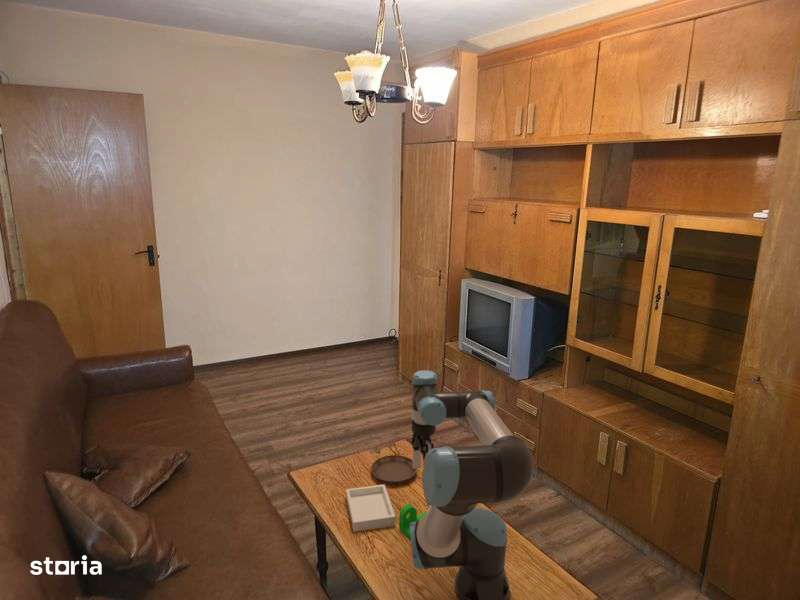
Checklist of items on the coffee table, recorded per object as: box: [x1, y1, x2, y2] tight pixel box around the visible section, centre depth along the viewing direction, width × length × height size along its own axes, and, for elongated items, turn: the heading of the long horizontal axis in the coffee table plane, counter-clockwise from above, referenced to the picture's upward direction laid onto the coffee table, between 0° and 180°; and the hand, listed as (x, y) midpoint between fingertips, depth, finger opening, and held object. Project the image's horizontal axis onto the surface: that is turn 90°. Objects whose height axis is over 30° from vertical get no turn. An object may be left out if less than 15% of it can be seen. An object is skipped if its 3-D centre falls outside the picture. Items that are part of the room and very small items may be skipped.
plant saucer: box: [370, 454, 418, 485], centre depth 199 cm, size 18×18×3 cm
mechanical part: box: [398, 503, 428, 540], centre depth 169 cm, size 12×6×8 cm, turn 123°
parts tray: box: [345, 483, 396, 533], centre depth 177 cm, size 18×14×4 cm
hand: (422, 479), depth 165 cm, fingers open, 13 cm apart
